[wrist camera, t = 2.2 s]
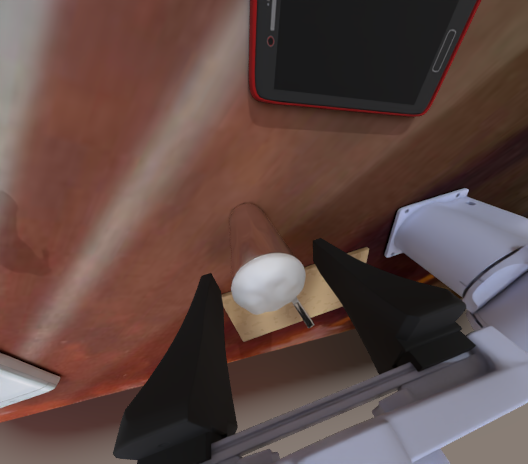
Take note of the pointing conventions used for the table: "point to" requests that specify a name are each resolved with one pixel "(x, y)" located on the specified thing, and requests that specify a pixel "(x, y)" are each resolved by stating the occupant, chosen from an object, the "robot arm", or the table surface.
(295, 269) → the milkshake
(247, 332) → the desk mat
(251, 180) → the table surface
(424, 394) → the robot arm
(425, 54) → the cell phone
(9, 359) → the hard drive
